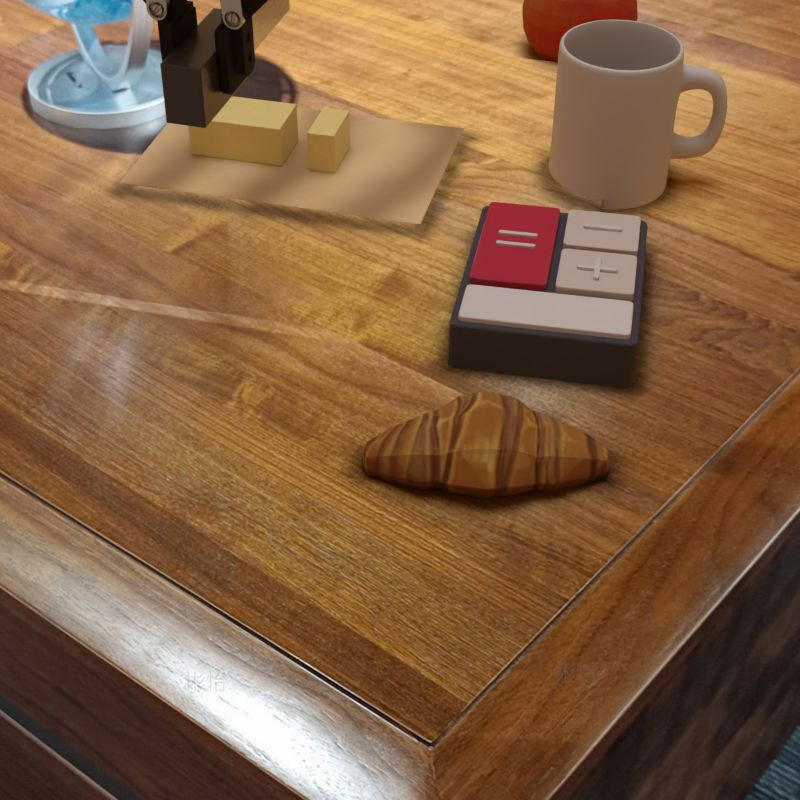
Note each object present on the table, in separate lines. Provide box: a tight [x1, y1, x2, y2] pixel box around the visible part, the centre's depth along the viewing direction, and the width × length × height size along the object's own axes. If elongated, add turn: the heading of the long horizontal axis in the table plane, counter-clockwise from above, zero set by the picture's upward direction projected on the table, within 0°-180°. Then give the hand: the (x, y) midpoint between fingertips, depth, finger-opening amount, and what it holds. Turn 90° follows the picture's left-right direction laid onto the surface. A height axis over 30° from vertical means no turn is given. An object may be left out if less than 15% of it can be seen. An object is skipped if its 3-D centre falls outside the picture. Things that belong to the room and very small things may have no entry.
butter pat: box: [307, 107, 350, 173], centre depth 98 cm, size 2×4×3 cm, turn 166°
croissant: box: [360, 390, 611, 500], centre depth 73 cm, size 14×7×5 cm, turn 89°
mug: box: [548, 20, 728, 210], centre depth 95 cm, size 12×8×11 cm
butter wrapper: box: [119, 107, 465, 225], centre depth 99 cm, size 22×14×2 cm, turn 76°
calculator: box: [447, 201, 648, 389], centre depth 85 cm, size 11×4×15 cm
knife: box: [159, 0, 291, 128], centre depth 82 cm, size 17×2×4 cm, turn 164°
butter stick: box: [188, 95, 298, 166], centre depth 99 cm, size 7×4×3 cm, turn 76°
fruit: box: [521, 0, 639, 63], centre depth 111 cm, size 10×10×10 cm
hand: (210, 78), depth 79 cm, fingers closed on knife, 2 cm apart
